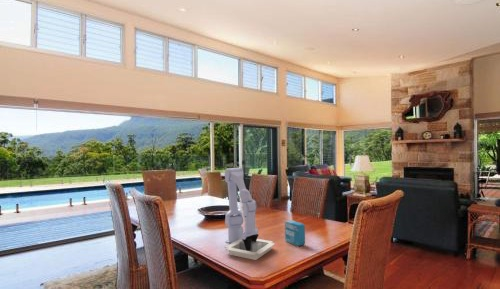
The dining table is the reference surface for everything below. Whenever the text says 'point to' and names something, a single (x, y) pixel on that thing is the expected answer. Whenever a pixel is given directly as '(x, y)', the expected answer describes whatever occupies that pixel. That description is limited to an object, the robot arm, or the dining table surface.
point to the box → (254, 246)
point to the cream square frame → (235, 250)
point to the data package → (295, 233)
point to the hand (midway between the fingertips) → (250, 249)
